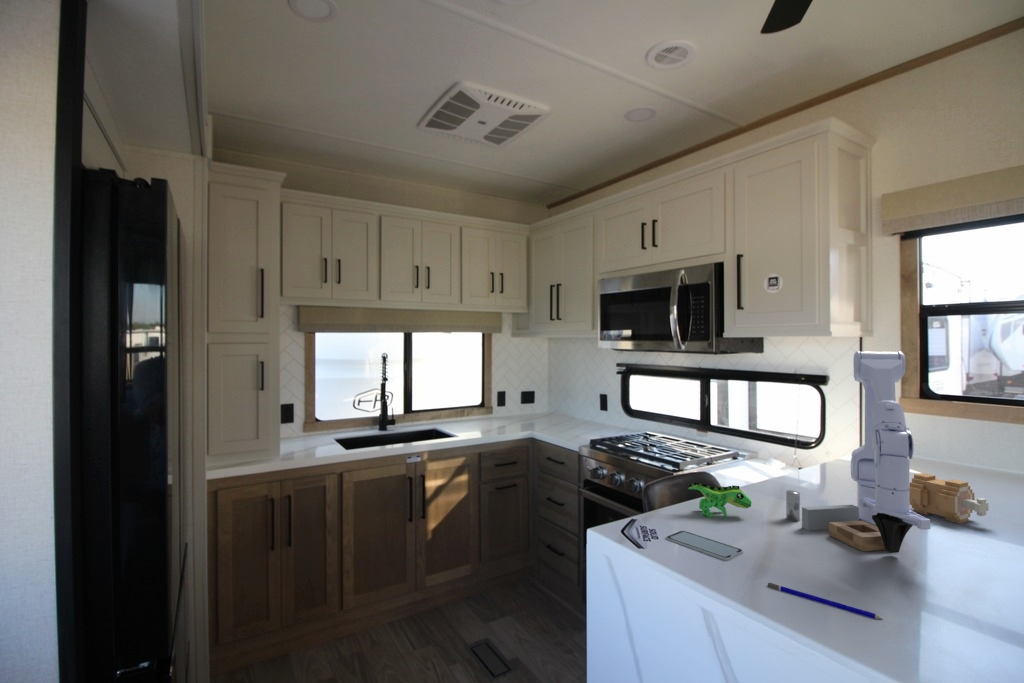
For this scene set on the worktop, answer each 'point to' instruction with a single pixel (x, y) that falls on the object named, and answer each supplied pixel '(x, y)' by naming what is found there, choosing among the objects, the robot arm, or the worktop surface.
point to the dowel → (792, 505)
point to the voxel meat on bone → (944, 498)
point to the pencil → (824, 601)
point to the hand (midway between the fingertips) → (892, 551)
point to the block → (857, 534)
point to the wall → (827, 516)
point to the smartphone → (705, 545)
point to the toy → (720, 497)
